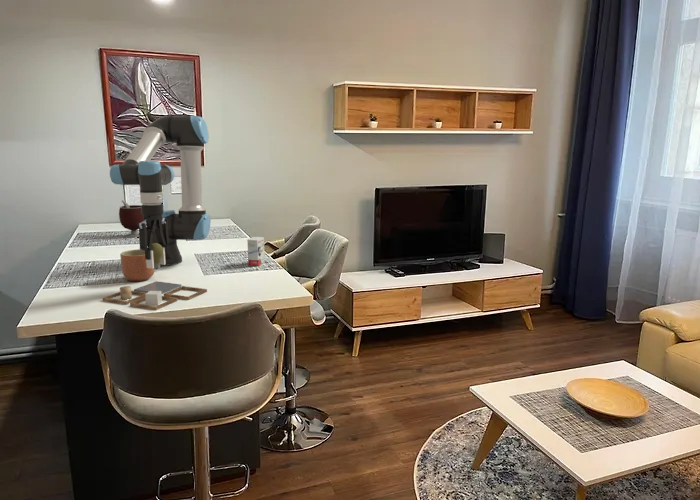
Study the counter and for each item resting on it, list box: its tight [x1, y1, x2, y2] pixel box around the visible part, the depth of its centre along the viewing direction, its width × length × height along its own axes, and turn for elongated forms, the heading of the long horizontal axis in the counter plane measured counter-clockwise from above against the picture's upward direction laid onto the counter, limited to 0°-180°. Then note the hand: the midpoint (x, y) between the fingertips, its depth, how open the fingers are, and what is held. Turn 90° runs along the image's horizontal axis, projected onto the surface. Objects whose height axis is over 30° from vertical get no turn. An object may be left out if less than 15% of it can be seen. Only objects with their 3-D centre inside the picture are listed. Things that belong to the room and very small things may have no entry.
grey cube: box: [145, 291, 163, 306], centre depth 179 cm, size 4×4×4 cm
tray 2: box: [129, 295, 178, 311], centre depth 179 cm, size 11×11×1 cm
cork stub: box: [119, 285, 133, 301], centre depth 184 cm, size 4×4×4 cm
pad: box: [133, 280, 182, 295], centre depth 197 cm, size 12×12×1 cm
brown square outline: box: [163, 285, 208, 301], centre depth 190 cm, size 11×11×1 cm
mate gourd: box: [118, 200, 144, 239], centre depth 296 cm, size 16×14×20 cm
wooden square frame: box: [101, 290, 146, 305], centre depth 185 cm, size 11×11×1 cm
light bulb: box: [151, 243, 163, 271], centre depth 194 cm, size 6×6×10 cm
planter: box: [120, 248, 155, 282], centre depth 208 cm, size 12×12×11 cm
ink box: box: [247, 236, 266, 267], centre depth 235 cm, size 9×5×12 cm, turn 168°
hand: (156, 265), depth 195 cm, fingers closed on light bulb, 5 cm apart
